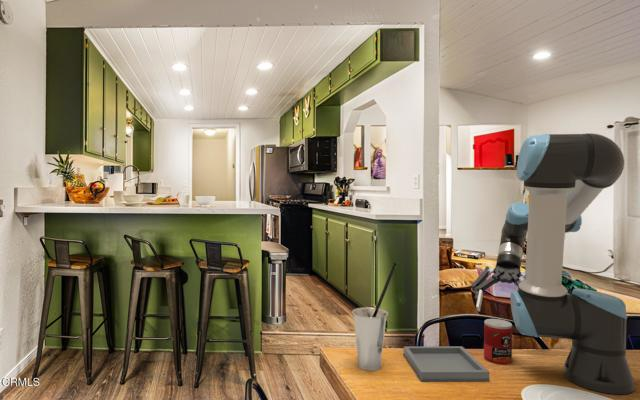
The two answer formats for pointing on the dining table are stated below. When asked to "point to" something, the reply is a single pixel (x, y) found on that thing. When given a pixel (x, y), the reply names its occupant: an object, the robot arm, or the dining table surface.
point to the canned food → (498, 341)
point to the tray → (445, 364)
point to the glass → (371, 332)
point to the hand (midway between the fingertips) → (500, 312)
